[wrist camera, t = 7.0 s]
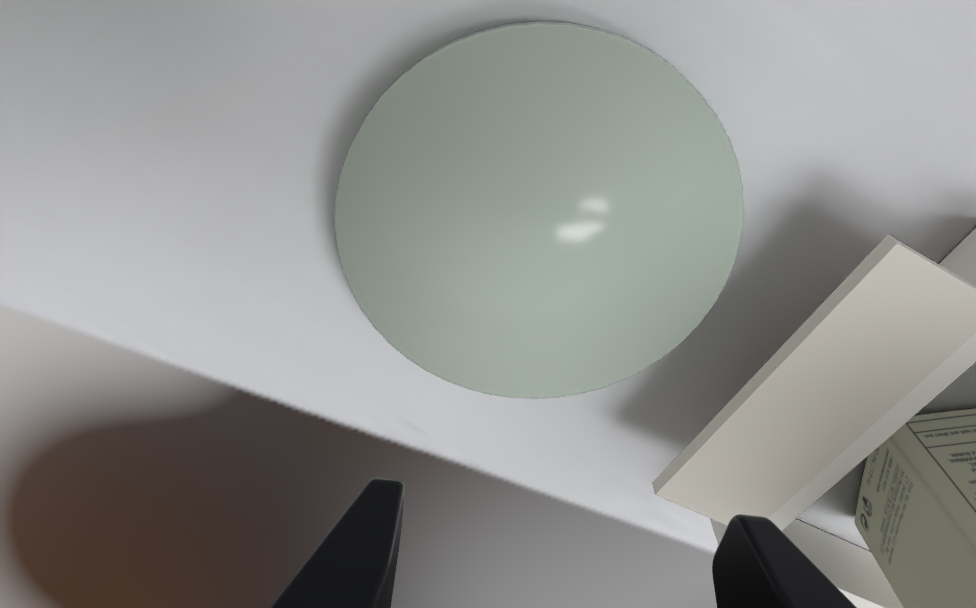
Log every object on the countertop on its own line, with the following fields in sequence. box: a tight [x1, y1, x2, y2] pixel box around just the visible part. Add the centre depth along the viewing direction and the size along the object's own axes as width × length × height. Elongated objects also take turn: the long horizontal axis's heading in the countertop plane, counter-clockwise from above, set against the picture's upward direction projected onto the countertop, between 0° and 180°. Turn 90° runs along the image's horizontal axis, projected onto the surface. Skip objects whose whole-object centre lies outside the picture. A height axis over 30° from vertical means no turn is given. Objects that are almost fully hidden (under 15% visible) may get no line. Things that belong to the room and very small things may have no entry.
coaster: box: [334, 21, 744, 399], centre depth 15 cm, size 9×9×1 cm
